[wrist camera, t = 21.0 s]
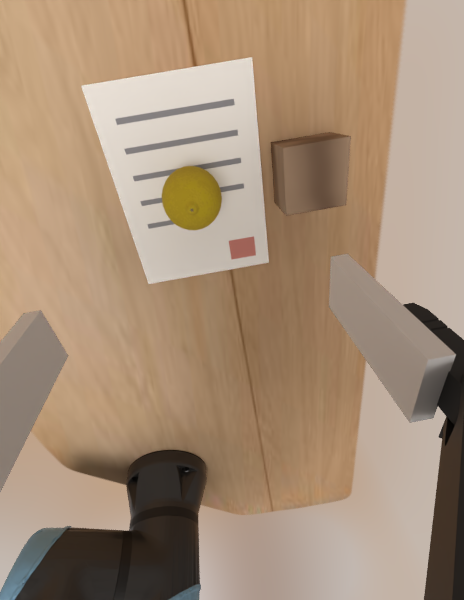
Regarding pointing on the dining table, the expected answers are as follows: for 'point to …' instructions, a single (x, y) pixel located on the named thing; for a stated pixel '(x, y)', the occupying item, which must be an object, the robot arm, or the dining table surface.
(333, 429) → the dining table surface
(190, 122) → the letter
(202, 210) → the lemon
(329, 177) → the walnut block
